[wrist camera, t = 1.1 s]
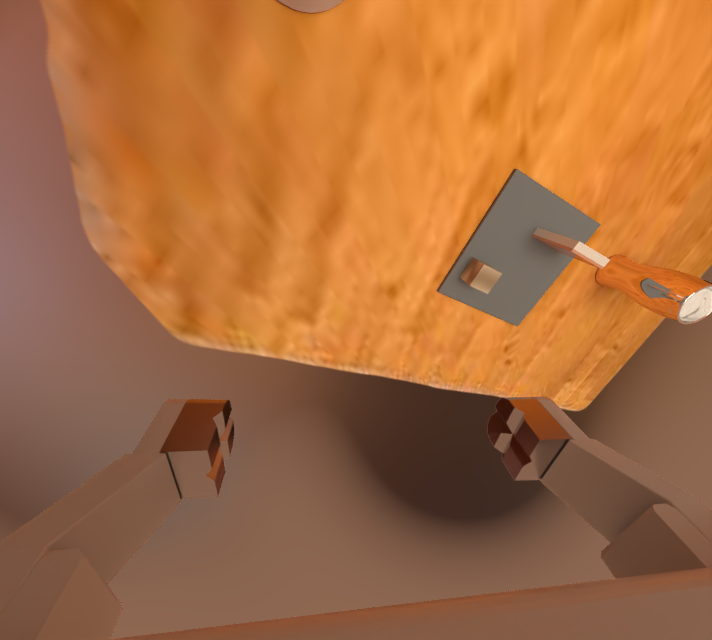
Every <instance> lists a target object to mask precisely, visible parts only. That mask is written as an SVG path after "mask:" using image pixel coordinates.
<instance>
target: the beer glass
mask: <svg viewBox="0 0 712 640" xmlns="http://www.w3.org/2000/svg"><path fill="white" fill-rule="evenodd" d="M609 260H610V261H609V262H608V263H607V264H606V265H605V267H604V268H603V269H600V268H599V269H598V270H597V273H596V281H597V282H598V283H599V284H600V285H603V286H607V287H611V288H614V289H617V290H619V291H621V292H622V293H624V294H625V295H627V296H628V297H630V298H631V299H632V300H634V301H635V302H637V303H638V304H640V305H641V306H643V307H644V308H646V309H648V310H650V311H652V312H654V313H657V314H659V315H661V316H664V317H667V318H669V319H672V320H675V321H677V322H680V323H682V324H692V323H695V322H698V321H700V320H702V319H703V318H705V317H707V316H708V315H709V314H711V313H712V283H711V282H709V281H706V280H704V279H701V278H699V277H696V276H693V275H690V274H687V273H684V272H680V271H677V270H672V269H666V268H660V267H653V266H647V265H642V264H638V263H636V262H634V261H632V260H630V259H629V258H627V257H625V256H622V255H616V256H613V257H610V258H609Z"/></svg>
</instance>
